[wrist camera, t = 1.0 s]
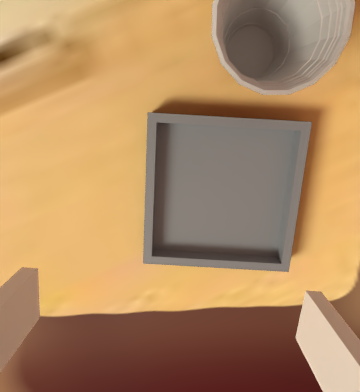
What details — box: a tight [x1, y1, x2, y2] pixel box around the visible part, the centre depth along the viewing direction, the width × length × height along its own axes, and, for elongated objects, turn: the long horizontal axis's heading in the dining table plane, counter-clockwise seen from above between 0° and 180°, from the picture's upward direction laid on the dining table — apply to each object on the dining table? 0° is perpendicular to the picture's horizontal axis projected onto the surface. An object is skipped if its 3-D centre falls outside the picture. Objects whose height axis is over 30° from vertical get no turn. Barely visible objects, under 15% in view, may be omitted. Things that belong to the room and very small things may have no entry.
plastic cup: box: [212, 0, 355, 95], centre depth 28 cm, size 11×11×12 cm
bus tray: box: [143, 112, 312, 272], centre depth 36 cm, size 18×18×3 cm
